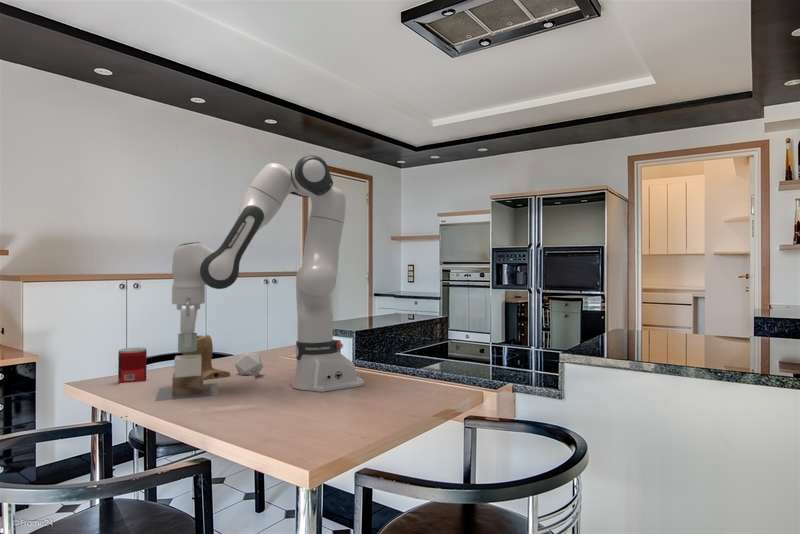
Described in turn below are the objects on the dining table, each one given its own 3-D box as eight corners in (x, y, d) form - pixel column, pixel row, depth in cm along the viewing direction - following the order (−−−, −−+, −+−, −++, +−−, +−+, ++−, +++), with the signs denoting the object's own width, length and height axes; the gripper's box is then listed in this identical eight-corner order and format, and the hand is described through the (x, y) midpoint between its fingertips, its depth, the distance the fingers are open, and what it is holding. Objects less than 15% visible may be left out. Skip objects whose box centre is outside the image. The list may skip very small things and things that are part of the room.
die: (247, 382, 160) (265, 357, 163) (225, 368, 161) (244, 343, 165) (254, 386, 168) (271, 361, 171) (233, 372, 169) (251, 348, 173)
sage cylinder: (196, 349, 144) (197, 332, 144) (196, 351, 139) (197, 334, 139) (178, 349, 142) (178, 332, 142) (177, 352, 137) (177, 334, 137)
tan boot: (172, 380, 161) (173, 335, 161) (205, 374, 170) (205, 331, 171) (199, 386, 152) (199, 338, 152) (231, 379, 162) (231, 334, 162)
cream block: (201, 371, 145) (201, 354, 145) (201, 375, 139) (201, 358, 139) (175, 373, 142) (175, 356, 142) (174, 377, 136) (174, 359, 136)
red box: (151, 382, 158) (151, 348, 158) (126, 386, 151) (126, 351, 151) (138, 379, 162) (138, 346, 162) (113, 383, 155) (113, 349, 156)
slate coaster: (216, 387, 151) (216, 383, 151) (218, 399, 136) (218, 395, 136) (159, 392, 145) (159, 388, 145) (155, 405, 130) (155, 401, 130)
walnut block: (202, 387, 146) (202, 370, 146) (203, 393, 138) (203, 375, 138) (173, 389, 142) (173, 372, 143) (172, 396, 135) (172, 378, 135)
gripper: (200, 299, 132) (199, 349, 132) (200, 296, 151) (199, 340, 151) (175, 299, 130) (174, 351, 130) (177, 296, 149) (177, 341, 149)
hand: (188, 345), depth 140 cm, fingers closed on sage cylinder, 5 cm apart
